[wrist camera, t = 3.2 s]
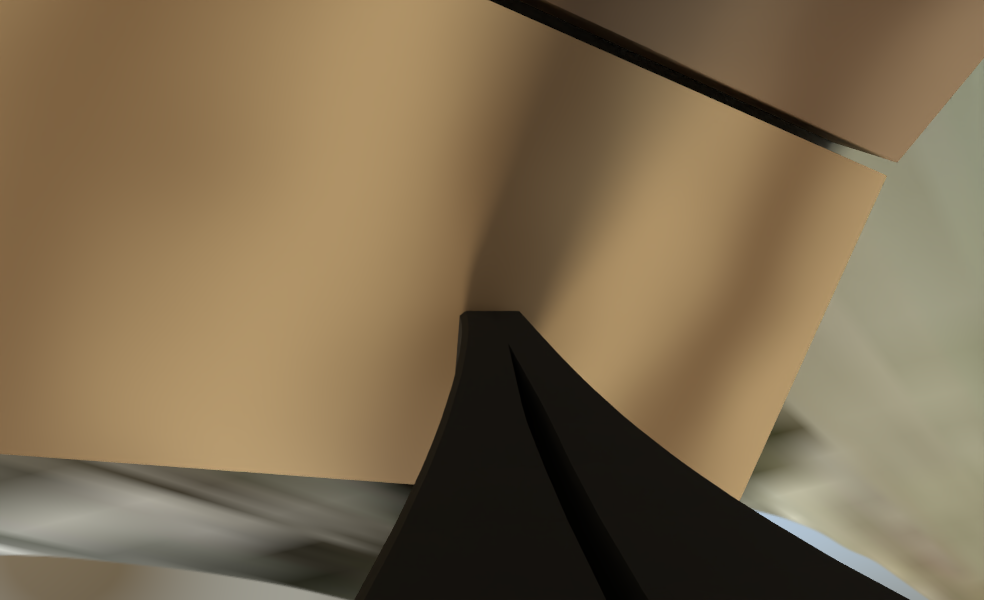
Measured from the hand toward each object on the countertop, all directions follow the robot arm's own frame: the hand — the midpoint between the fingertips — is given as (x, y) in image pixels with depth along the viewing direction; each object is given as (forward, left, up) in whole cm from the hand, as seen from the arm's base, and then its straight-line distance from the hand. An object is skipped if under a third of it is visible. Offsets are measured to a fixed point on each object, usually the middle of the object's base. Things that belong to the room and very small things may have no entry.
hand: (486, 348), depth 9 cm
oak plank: (0, -1, -3) cm, 3 cm away
